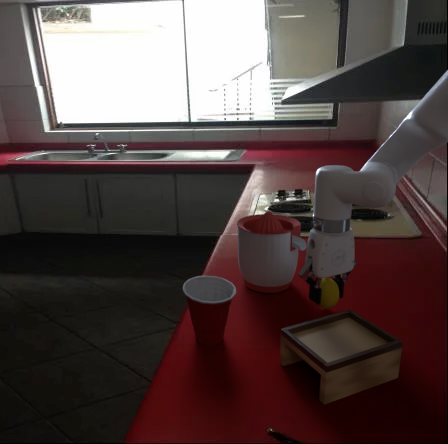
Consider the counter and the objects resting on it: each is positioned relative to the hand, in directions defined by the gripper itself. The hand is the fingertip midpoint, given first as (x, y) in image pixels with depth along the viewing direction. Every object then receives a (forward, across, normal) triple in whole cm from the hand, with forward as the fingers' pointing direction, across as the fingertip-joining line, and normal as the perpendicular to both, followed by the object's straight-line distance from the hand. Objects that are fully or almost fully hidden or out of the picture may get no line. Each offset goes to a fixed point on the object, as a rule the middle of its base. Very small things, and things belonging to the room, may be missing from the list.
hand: (325, 297), depth 95 cm
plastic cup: (+3, -29, +1) cm, 29 cm away
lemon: (+3, 0, 0) cm, 3 cm away
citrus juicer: (+3, -4, +16) cm, 17 cm away
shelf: (+3, -13, -18) cm, 22 cm away
